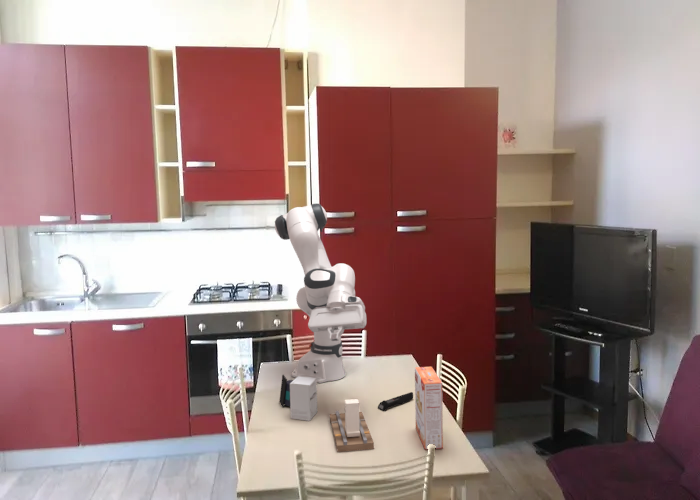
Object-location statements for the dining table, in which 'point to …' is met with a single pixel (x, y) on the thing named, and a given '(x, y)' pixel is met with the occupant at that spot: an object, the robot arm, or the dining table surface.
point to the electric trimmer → (395, 401)
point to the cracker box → (429, 407)
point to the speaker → (285, 392)
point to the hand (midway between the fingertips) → (334, 340)
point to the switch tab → (352, 418)
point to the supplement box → (303, 398)
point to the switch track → (350, 443)
